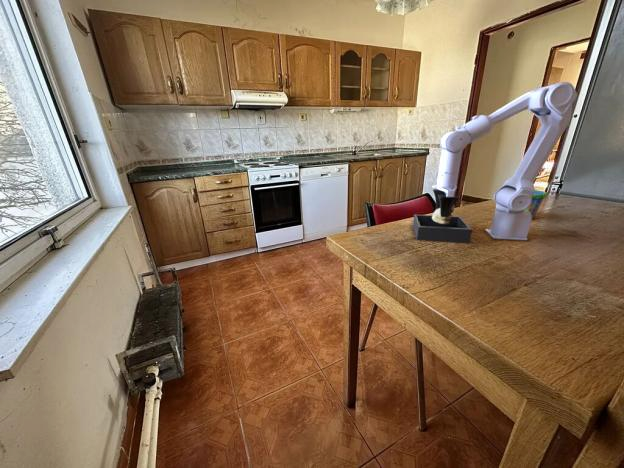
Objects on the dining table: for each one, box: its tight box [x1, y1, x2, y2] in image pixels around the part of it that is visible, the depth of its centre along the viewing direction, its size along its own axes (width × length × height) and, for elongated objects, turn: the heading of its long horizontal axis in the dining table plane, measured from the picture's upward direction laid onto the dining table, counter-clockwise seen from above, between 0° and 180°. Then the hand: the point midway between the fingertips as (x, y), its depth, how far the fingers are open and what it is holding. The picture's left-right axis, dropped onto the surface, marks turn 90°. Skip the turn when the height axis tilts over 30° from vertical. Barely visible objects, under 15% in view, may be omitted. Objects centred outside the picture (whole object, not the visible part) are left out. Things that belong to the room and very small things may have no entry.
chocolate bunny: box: [432, 204, 455, 224], centre depth 86 cm, size 6×8×10 cm
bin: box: [412, 214, 473, 244], centre depth 88 cm, size 16×14×5 cm
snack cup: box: [526, 189, 547, 219], centre depth 101 cm, size 16×10×10 cm
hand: (441, 213), depth 86 cm, fingers closed on chocolate bunny, 7 cm apart
